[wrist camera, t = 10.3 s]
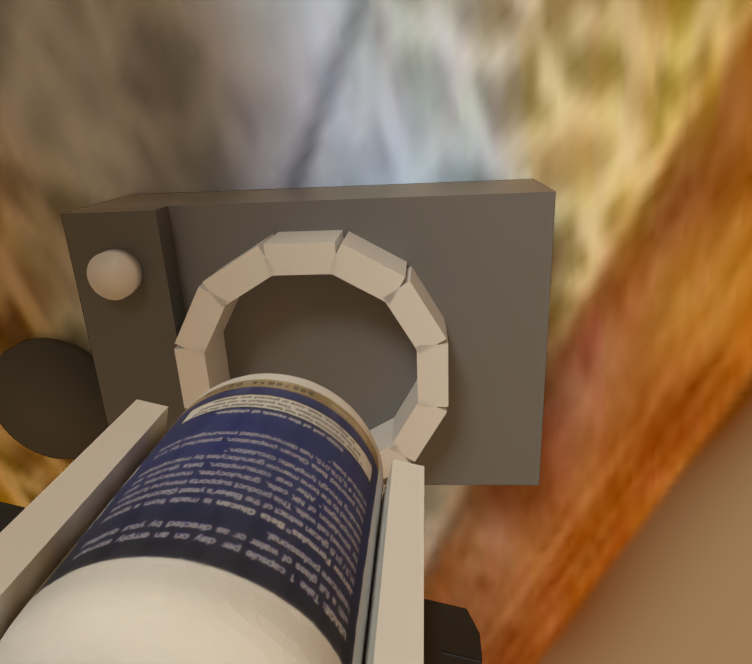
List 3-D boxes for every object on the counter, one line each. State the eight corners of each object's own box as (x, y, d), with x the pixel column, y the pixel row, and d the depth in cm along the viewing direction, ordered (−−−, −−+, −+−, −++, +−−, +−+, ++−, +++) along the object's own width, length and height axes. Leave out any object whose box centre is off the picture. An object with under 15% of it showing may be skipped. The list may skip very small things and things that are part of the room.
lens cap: (1, 435, 29) (-11, 444, 28) (-3, 323, 27) (-15, 329, 26) (120, 461, 29) (112, 470, 28) (126, 351, 27) (118, 358, 26)
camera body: (175, 433, 28) (112, 514, 22) (131, 194, 24) (41, 218, 18) (522, 432, 26) (549, 518, 21) (533, 178, 23) (570, 199, 17)
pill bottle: (153, 373, 14) (-325, 823, 5) (372, 359, 14) (268, 837, 5) (198, 554, 16) (-99, 1124, 7) (394, 548, 16) (349, 1163, 6)
